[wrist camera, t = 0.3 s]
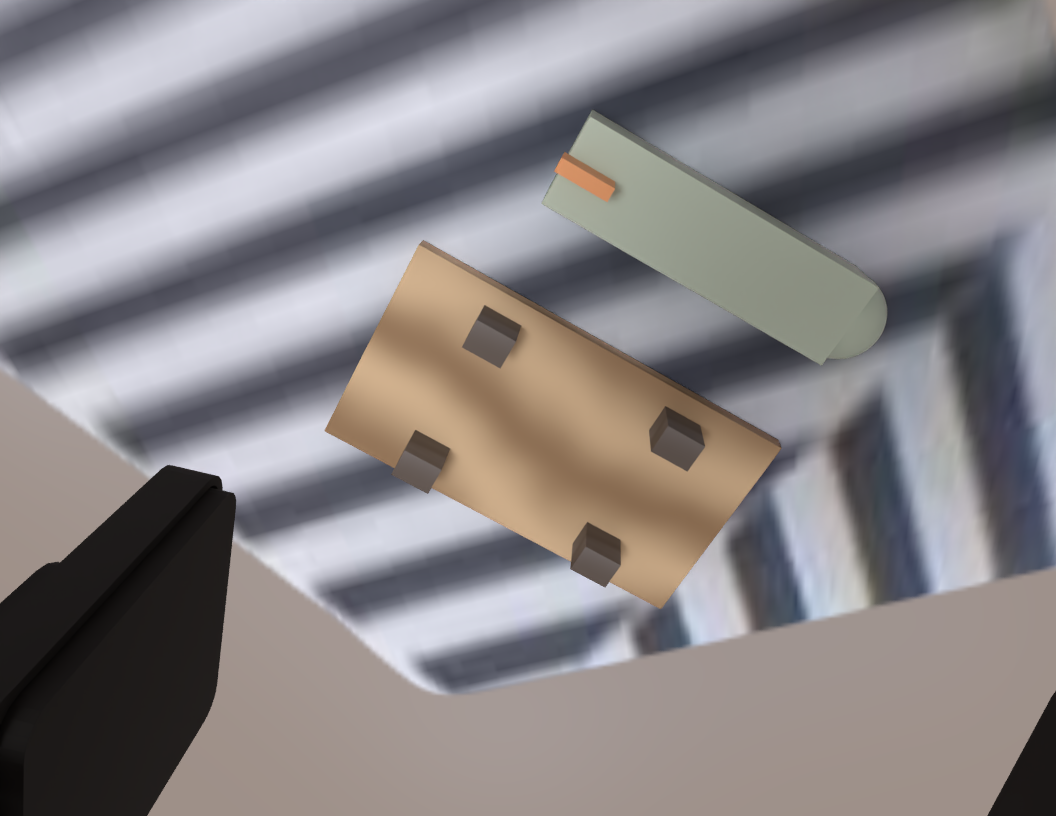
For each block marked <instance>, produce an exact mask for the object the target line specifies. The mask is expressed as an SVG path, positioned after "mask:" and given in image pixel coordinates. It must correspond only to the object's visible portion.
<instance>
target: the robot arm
mask: <svg viewBox="0 0 1056 816" xmlns="http://www.w3.org/2000/svg"><path fill="white" fill-rule="evenodd" d="M222 488H223V487H222V481H221V479H220V477H219V476H215V475H211V474H207V473H202V472H198V471H194V470H189V469H185V468H181V467H176V466H172V465H167V466H165V467H164V468H162V469H161V470H160V471H159V472H158V473H157V474H156V475H154V476H153V477H152V478H151V479H150V480H149V481H148V482H147V483H146V484H145V485H144V486H143V487H142V488H140V489H139V490H138V491H137V492H136V493H135V494H134V495H133V496H132V497H131V498H130V499H129V500H127V502H125V503H124V504H123V505H122V506H121V507H120V508H119V509H118V510H117V511H115V512H114V513H113V514H112V515H111V516H110V517H109V518H108V519H107V520H106V521H105V522H104V523H102V525H101V526H99V527H98V528H97V529H96V530H95V531H94V532H93V533H92V534H91V535H90V536H88V538H86V539H85V540H84V541H83V542H82V543H81V544H80V545H79V546H78V547H77V548H75V549H74V550H73V551H72V552H71V553H70V554H69V555H68V556H67V557H66V558H65V559H64V560H62V561H61V562H60V563H59V562H54V563H48V564H46V565H45V566H43V567H41V568H40V569H38V570H37V571H36V572H35V573H33V574H32V575H31V576H30V577H29V578H28V579H27V580H26V581H24V582H23V584H21V585H20V586H19V587H18V588H17V589H16V590H14V591H13V592H12V593H11V594H10V595H9V596H8V597H7V598H6V599H5V600H3V601H2V602H1V603H0V816H147V815H148V813H149V811H150V810H151V808H152V807H153V805H154V803H155V802H156V800H157V798H158V797H159V795H160V794H161V792H162V790H163V788H164V787H165V785H166V784H167V782H168V780H169V779H170V777H171V775H172V774H173V772H174V770H175V769H176V767H177V766H178V764H179V762H180V761H181V759H182V757H183V756H184V754H185V752H186V751H187V749H188V747H189V746H190V744H191V742H192V741H193V739H194V737H195V736H196V734H197V733H198V731H199V729H200V728H201V726H202V724H203V723H204V721H205V719H206V717H207V715H208V713H209V711H210V708H211V706H212V702H213V700H214V696H215V692H216V687H217V679H218V669H219V661H220V651H221V642H222V633H223V623H224V614H225V605H226V595H227V586H228V576H229V566H230V557H231V548H232V539H233V529H234V520H235V510H236V497H235V495H234V493H231V492H227V491H222ZM988 816H1056V692H1055V693H1054V694H1053V696H1052V697H1051V699H1050V701H1049V703H1048V705H1047V707H1046V708H1045V710H1044V712H1043V714H1042V716H1041V718H1040V719H1039V721H1038V723H1037V725H1036V727H1035V729H1034V731H1033V733H1032V734H1031V736H1030V738H1029V740H1028V742H1027V743H1026V745H1025V747H1024V749H1023V751H1022V753H1021V755H1020V757H1019V758H1018V760H1017V762H1016V764H1015V766H1014V767H1013V769H1012V771H1011V773H1010V775H1009V777H1008V779H1007V781H1006V782H1005V784H1004V786H1003V788H1002V790H1001V792H1000V793H999V795H998V797H997V799H996V801H995V803H994V805H993V807H992V808H991V810H990V812H989V814H988Z"/></svg>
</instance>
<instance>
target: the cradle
mask: <svg viewBox="0 0 1056 816" xmlns="http://www.w3.org/2000/svg"><path fill="white" fill-rule="evenodd" d="M325 432H327V433H329V434H331V435H333V436H335V437H337V438H339V439H340V440H342V441H344V442H346V443H348V444H350V445H352V446H354V447H356V448H357V449H359V450H361V451H363V452H365V453H367V454H369V455H371V456H373V457H374V458H376V459H378V460H380V461H382V462H384V463H386V464H388V465H390V466H391V467H393V468H394V470H393V472H392V474H391V475H393V476H395V477H397V478H399V479H401V480H403V481H405V482H407V483H408V484H410V485H412V486H414V487H416V488H418V489H420V490H422V491H424V492H425V493H427V494H428V493H429V491H430V489H431V488H433V489H435V490H437V491H439V492H441V493H442V494H444V495H446V496H448V497H450V498H452V499H454V500H456V501H458V502H459V503H461V504H463V505H465V506H467V507H469V508H471V509H473V510H475V511H476V512H478V513H480V514H482V515H484V516H486V517H488V518H490V519H492V520H493V521H495V522H497V523H499V524H501V525H503V526H505V527H507V528H509V529H510V530H512V531H514V532H516V533H518V534H520V535H522V536H524V537H526V538H527V539H529V540H531V541H533V542H535V543H537V544H539V545H541V546H543V547H544V548H546V549H548V550H550V551H552V552H554V553H556V554H558V555H560V556H561V557H563V558H565V559H567V560H569V561H571V570H573V571H575V572H577V573H579V574H581V575H583V576H584V577H586V578H588V579H590V580H592V581H594V582H596V583H598V584H600V585H601V586H603V587H606V586H607V584H608V583H609V582H611V583H612V584H614V585H616V586H618V587H620V588H622V589H624V590H626V591H628V592H629V593H631V594H633V595H635V596H637V597H639V598H641V599H643V600H645V601H646V602H648V603H650V604H652V605H654V606H656V607H658V608H660V609H661V608H662V607H663V606H664V604H665V603H666V602H667V600H668V599H669V598H670V596H671V595H672V594H673V592H674V591H675V590H676V588H677V587H678V586H679V584H680V583H681V582H682V580H683V579H684V578H685V576H686V575H687V574H688V572H689V571H690V570H691V568H692V567H693V566H694V564H695V563H696V562H697V560H698V559H699V558H700V556H701V555H702V554H703V552H704V551H705V550H706V548H707V547H708V546H709V544H710V543H711V542H712V540H713V539H714V538H715V536H716V535H717V534H718V532H719V531H720V530H721V528H722V527H723V526H724V524H725V523H726V522H727V520H728V519H729V518H730V516H731V515H732V514H733V512H734V511H735V510H736V508H737V507H738V506H739V504H740V503H741V502H742V500H743V499H744V498H745V496H746V495H747V494H748V492H749V491H750V490H751V488H752V487H753V486H754V484H755V483H756V482H757V480H758V479H759V478H760V476H761V475H762V474H763V472H764V471H765V470H766V468H767V467H768V466H769V464H770V463H771V462H772V460H773V459H774V458H775V456H776V455H777V454H778V452H779V451H780V450H781V446H780V443H779V441H778V440H777V439H775V438H774V437H772V436H770V435H768V434H767V433H765V432H763V431H761V430H759V429H758V428H756V427H754V426H752V425H751V424H749V423H747V422H745V421H743V420H742V419H740V418H738V417H736V416H735V415H733V414H731V413H729V412H727V411H726V410H724V409H722V408H720V407H719V406H717V405H715V404H713V403H711V402H710V401H708V400H706V399H704V398H703V397H701V396H699V395H697V394H695V393H694V392H692V391H690V390H688V389H687V388H685V387H683V386H681V385H679V384H678V383H676V382H674V381H672V380H671V379H669V378H667V377H665V376H663V375H662V374H660V373H658V372H656V371H655V370H653V369H651V368H649V367H647V366H646V365H644V364H642V363H640V362H639V361H637V360H635V359H633V358H631V357H630V356H628V355H626V354H624V353H623V352H621V351H619V350H617V349H615V348H614V347H612V346H610V345H608V344H607V343H605V342H603V341H601V340H599V339H598V338H596V337H594V336H592V335H591V334H589V333H587V332H585V331H583V330H582V329H580V328H578V327H576V326H575V325H573V324H571V323H569V322H567V321H566V320H564V319H562V318H560V317H559V316H557V315H555V314H553V313H551V312H550V311H548V310H546V309H544V308H543V307H541V306H539V305H537V304H535V303H534V302H532V301H530V300H528V299H527V298H525V297H523V296H521V295H519V294H518V293H516V292H514V291H512V290H511V289H509V288H507V287H505V286H504V285H502V284H500V283H498V282H496V281H495V280H493V279H491V278H489V277H488V276H486V275H484V274H482V273H480V272H479V271H477V270H475V269H473V268H472V267H470V266H468V265H466V264H464V263H463V262H461V261H459V260H457V259H456V258H454V257H452V256H450V255H448V254H447V253H445V252H443V251H441V250H440V249H438V248H436V247H434V246H432V245H431V244H429V243H427V242H425V241H424V240H423V241H422V242H421V243H420V244H419V245H418V247H417V249H416V251H415V253H414V255H413V257H412V259H411V261H410V263H409V265H408V267H407V269H406V271H405V273H404V275H403V277H402V279H401V281H400V283H399V285H398V287H397V289H396V291H395V293H394V295H393V297H392V299H391V301H390V303H389V304H388V306H387V308H386V310H385V312H384V314H383V316H382V318H381V320H380V322H379V324H378V326H377V328H376V330H375V332H374V334H373V336H372V338H371V340H370V342H369V344H368V346H367V348H366V350H365V352H364V354H363V356H362V358H361V360H360V362H359V364H358V366H357V368H356V370H355V372H354V373H353V375H352V377H351V379H350V381H349V383H348V385H347V387H346V389H345V391H344V393H343V395H342V397H341V399H340V401H339V403H338V405H337V407H336V409H335V411H334V413H333V415H332V417H331V419H330V421H329V423H328V425H327V427H326V429H325Z"/></svg>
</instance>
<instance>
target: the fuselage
mask: <svg viewBox="0 0 1056 816" xmlns="http://www.w3.org/2000/svg"><path fill="white" fill-rule="evenodd" d="M554 172H556V173H557V174H556V176H555V178H554V180H553V182H552V183H551V185H550V187H549V189H548V191H547V193H546V195H545V197H544V199H543V201H542V204H543V205H544V206H546V207H548V208H550V209H551V210H553V211H555V212H556V213H558V214H560V215H562V216H563V217H565V218H567V219H569V220H570V221H572V222H574V223H576V224H577V225H579V226H581V227H582V228H584V229H586V230H588V231H589V232H591V233H593V234H595V235H596V236H598V237H600V238H602V239H603V240H605V241H607V242H608V243H610V244H612V245H614V246H615V247H617V248H619V249H621V250H622V251H624V252H626V253H628V254H629V255H631V256H633V257H634V258H636V259H638V260H640V261H641V262H643V263H645V264H647V265H648V266H650V267H652V268H653V269H655V270H657V271H659V272H660V273H662V274H664V275H666V276H667V277H669V278H671V279H673V280H674V281H676V282H678V283H679V284H681V285H683V286H685V287H686V288H688V289H690V290H692V291H693V292H695V293H697V294H699V295H700V296H702V297H704V298H705V299H707V300H709V301H711V302H712V303H714V304H716V305H718V306H719V307H721V308H723V309H725V310H726V311H728V312H730V313H731V314H733V315H735V316H737V317H738V318H740V319H742V320H744V321H745V322H747V323H749V324H750V325H752V326H754V327H756V328H757V329H759V330H761V331H763V332H764V333H766V334H768V335H770V336H771V337H773V338H775V339H776V340H778V341H780V342H782V343H783V344H785V345H787V346H789V347H790V348H792V349H794V350H796V351H797V352H799V353H801V354H802V355H804V356H806V357H808V358H809V359H811V360H813V361H815V362H816V363H818V364H820V365H822V364H823V363H824V362H825V360H826V359H827V358H830V359H846V358H851V357H855V356H857V355H860V354H862V353H863V352H865V351H867V350H868V349H869V348H871V347H872V346H873V345H874V344H875V343H876V342H877V340H878V339H879V338H880V336H881V334H882V332H883V330H884V328H885V325H886V320H887V305H886V301H885V298H884V295H883V293H882V292H881V290H880V288H879V287H878V286H877V285H876V283H875V282H873V281H872V280H871V279H870V278H868V277H867V276H866V275H865V274H864V273H863V272H862V271H861V270H859V269H858V268H857V267H856V266H855V265H853V264H852V263H850V262H848V261H846V260H845V259H843V258H841V257H840V256H838V255H836V254H835V253H833V252H831V251H830V250H828V249H826V248H825V247H823V246H821V245H820V244H818V243H816V242H814V241H813V240H811V239H809V238H808V237H806V236H804V235H803V234H801V233H799V232H798V231H796V230H794V229H793V228H791V227H789V226H788V225H786V224H784V223H783V222H781V221H779V220H777V219H776V218H774V217H772V216H771V215H769V214H767V213H766V212H764V211H762V210H761V209H759V208H757V207H756V206H754V205H752V204H751V203H749V202H747V201H746V200H744V199H742V198H740V197H739V196H737V195H735V194H734V193H732V192H730V191H729V190H727V189H725V188H724V187H722V186H720V185H719V184H717V183H715V182H714V181H712V180H710V179H708V178H707V177H705V176H703V175H702V174H700V173H698V172H697V171H695V170H693V169H692V168H690V167H688V166H687V165H685V164H683V163H682V162H680V161H678V160H677V159H675V158H673V157H671V156H670V155H668V154H666V153H665V152H663V151H661V150H660V149H658V148H656V147H655V146H653V145H651V144H650V143H648V142H646V141H645V140H643V139H641V138H640V137H638V136H636V135H634V134H633V133H631V132H629V131H628V130H626V129H624V128H623V127H621V126H619V125H618V124H616V123H614V122H613V121H611V120H609V119H608V118H606V117H604V116H602V115H601V114H599V113H597V112H596V111H594V110H592V111H591V113H590V115H589V117H588V118H587V120H586V122H585V124H584V126H583V127H582V129H581V131H580V133H579V135H578V136H577V138H576V140H575V142H574V144H573V145H572V147H571V149H570V151H569V153H568V154H567V153H566V152H564V154H563V156H562V157H561V159H560V161H559V163H558V165H557V167H556V169H555V171H554Z"/></svg>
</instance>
